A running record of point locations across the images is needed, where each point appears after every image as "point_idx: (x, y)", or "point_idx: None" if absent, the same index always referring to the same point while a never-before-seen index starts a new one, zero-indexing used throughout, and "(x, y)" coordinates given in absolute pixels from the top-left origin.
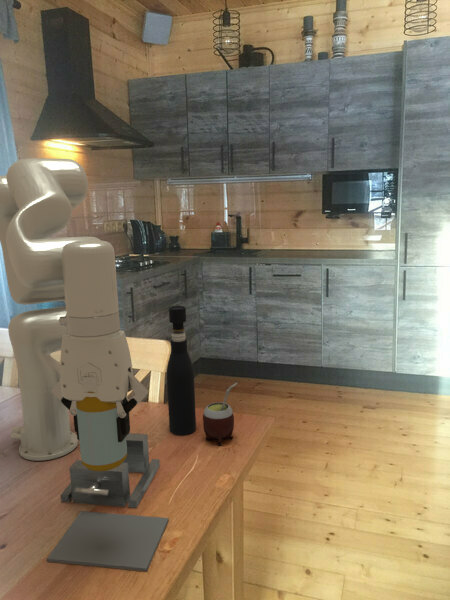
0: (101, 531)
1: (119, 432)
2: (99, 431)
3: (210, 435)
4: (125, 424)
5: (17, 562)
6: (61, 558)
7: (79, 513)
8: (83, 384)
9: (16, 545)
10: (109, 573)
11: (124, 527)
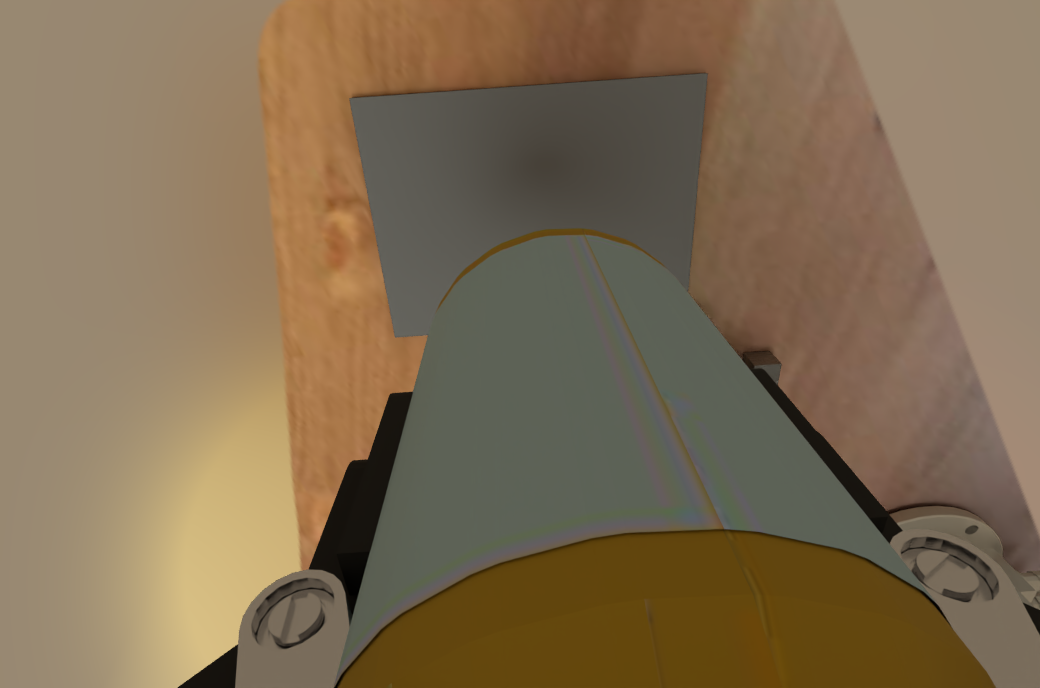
0: None
1: (379, 442)
2: (517, 368)
3: None
4: (327, 524)
5: (806, 47)
6: (656, 85)
7: None
8: None
9: (841, 128)
10: (468, 63)
11: None
